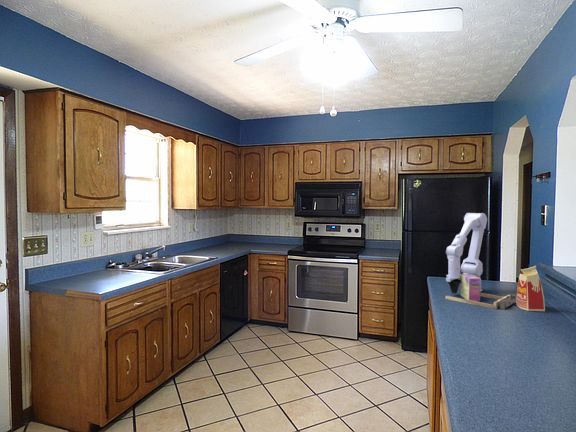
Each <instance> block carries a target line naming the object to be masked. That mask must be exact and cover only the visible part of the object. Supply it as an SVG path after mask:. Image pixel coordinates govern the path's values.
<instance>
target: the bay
mask: <svg viewBox="0 0 576 432" xmlns="http://www.w3.org/2000/svg"><path fill="white" fill-rule="evenodd" d="M480 297H483V298H484V297H485V298H489V299H494V300H495V301H494V302H493V304H491V303H486V302H480V301H471V300H467V299H465V298H462V297H461V298H460V297H455V296H451V295H445V299H446V300H449V301H454V302H460V303H464V304H469V305H474V306H480V307H484V308H488V309H493V310H497V309H500V310H504V311H505V310H506V309H507V308H509V307H510V306H512V305H514V304H516V303H517V294H513V293H511V294H507V295H505V296H502V295H501V296H500V295H494V294H489V293H485V292H480Z"/></svg>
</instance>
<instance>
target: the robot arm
mask: <svg viewBox="0 0 576 432" xmlns="http://www.w3.org/2000/svg"><path fill="white" fill-rule="evenodd" d="M463 221H464V223H463V226H462V228H461V231H460V232H459V233H458V234H456V235H455V237H454V238H453V240H452V242H451V244H450V245H449V246H447V247H446V250H445V254H446V257H447V260H448V261H447V263H448V266H447V267H448V270H447V271H448V274H446V275H445V276H446V277H445V282H447V284H448V285H449V287H450V291H451V293H452V294H457V293H458V290H459V286H460V285H461V274H472V275H474V276H476V277H478V278H480V279H481V275H483V271H484V269H483V265H484V264H483V262H482V261H481V260H480V259H479V257H480V253H481V249H482V248H481V247H482V241H483V236H484V232H485V229H486V228H487V223H488V217H487V215H486V213H484V212H481V213H480V212H478V213H477V212H466V213H465V215H464V216H463ZM471 230H472V235H471V240H470V245H469V249H468V256H467V257H466V258H464V259H463V261H462V264H461V257H462V256H463V252H464V246H465V245H466V243H467V241H468V238H467V236H468V235H469V233H470V231H471ZM482 291H483V289H482V279H481V280H480V293H482Z"/></svg>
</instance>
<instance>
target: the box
mask: <svg viewBox="0 0 576 432" xmlns="http://www.w3.org/2000/svg"><path fill="white" fill-rule="evenodd" d="M460 274H461V278H460V280H461V282H460V297H461V298H463V299H466V300H471V301H476V302H480V301H481V296H480V293H481V292H480V280H481V281H482V279H480V278H481V277H480V278H478V277H476V276H474V275H472V274H463V273H460Z"/></svg>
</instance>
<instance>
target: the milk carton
mask: <svg viewBox="0 0 576 432" xmlns="http://www.w3.org/2000/svg"><path fill="white" fill-rule="evenodd" d="M536 268H537V265H534V266H530V267H528V268H523V269H522V268H521V269H520V273H519V277H518V282H517V288H516V289H517V290H516V303H515V304H516V306H517V308H520V309H521V310H524V311H527V312H534V311H535V312H546V308H545V307H546V305H545V295H544V290H543V285H542V282H541V278H540V275H539V273H538V271H537V269H536Z"/></svg>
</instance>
